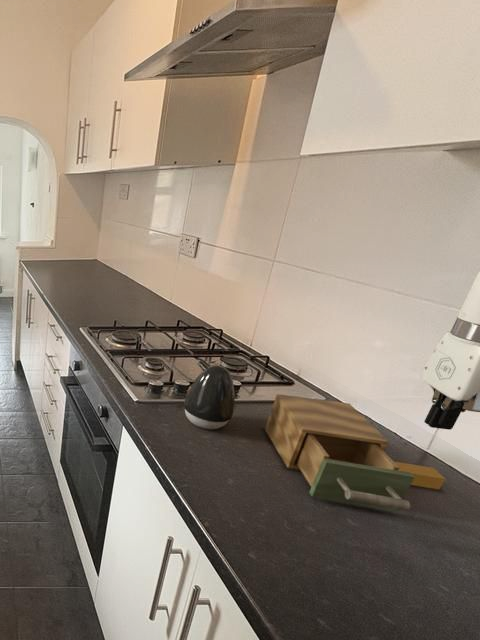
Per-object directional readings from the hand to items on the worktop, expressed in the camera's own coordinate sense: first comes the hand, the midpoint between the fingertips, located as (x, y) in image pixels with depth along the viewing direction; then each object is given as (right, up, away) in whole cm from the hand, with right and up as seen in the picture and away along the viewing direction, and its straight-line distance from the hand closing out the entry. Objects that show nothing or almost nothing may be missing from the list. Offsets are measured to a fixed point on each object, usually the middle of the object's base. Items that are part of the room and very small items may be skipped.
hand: (437, 426), depth 76 cm
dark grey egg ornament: (-29, -4, +24) cm, 38 cm away
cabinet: (-12, -8, +13) cm, 20 cm away
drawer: (-16, -12, +2) cm, 20 cm away
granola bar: (0, -12, +6) cm, 13 cm away
